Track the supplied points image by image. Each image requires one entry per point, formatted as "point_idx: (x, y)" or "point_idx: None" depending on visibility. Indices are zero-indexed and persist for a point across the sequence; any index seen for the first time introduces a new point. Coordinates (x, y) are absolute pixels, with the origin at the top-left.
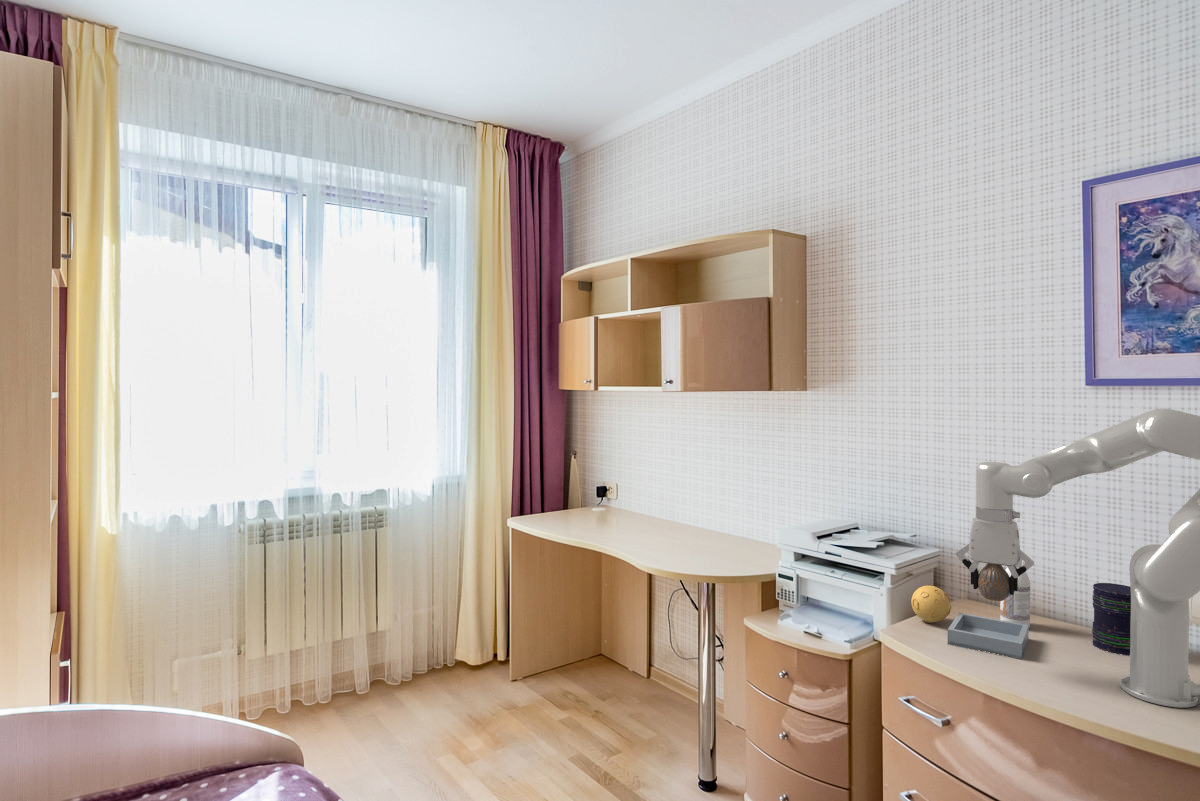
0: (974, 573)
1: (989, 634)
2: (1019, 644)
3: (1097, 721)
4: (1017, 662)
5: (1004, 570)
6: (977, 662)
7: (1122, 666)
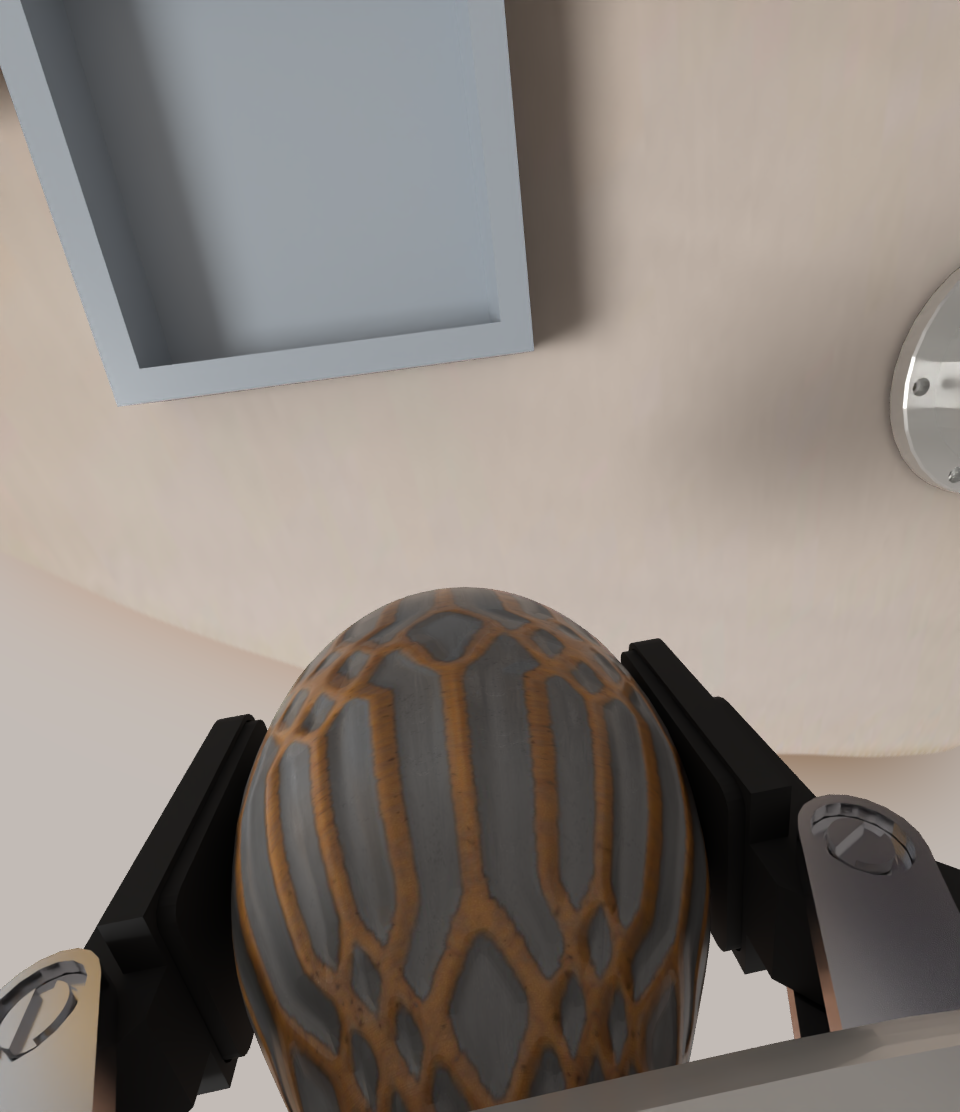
0: (212, 1076)
1: (266, 43)
2: (521, 351)
3: (787, 749)
4: (509, 408)
5: (691, 1044)
6: (375, 546)
7: (936, 48)
